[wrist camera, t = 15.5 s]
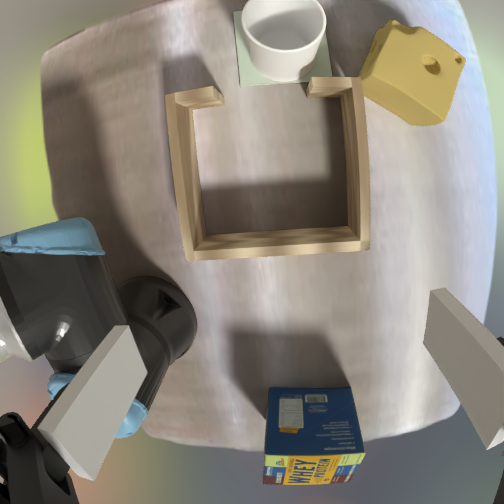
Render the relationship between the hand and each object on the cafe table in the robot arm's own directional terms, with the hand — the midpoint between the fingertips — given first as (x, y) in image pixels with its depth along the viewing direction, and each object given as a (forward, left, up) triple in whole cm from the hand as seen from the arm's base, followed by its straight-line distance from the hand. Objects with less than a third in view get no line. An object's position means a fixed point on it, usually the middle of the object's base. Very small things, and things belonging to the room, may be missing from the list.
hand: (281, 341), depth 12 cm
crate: (-1, +6, -30) cm, 31 cm away
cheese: (+17, +17, -30) cm, 39 cm away
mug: (+2, +23, -30) cm, 37 cm away
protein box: (+3, -37, -30) cm, 48 cm away
